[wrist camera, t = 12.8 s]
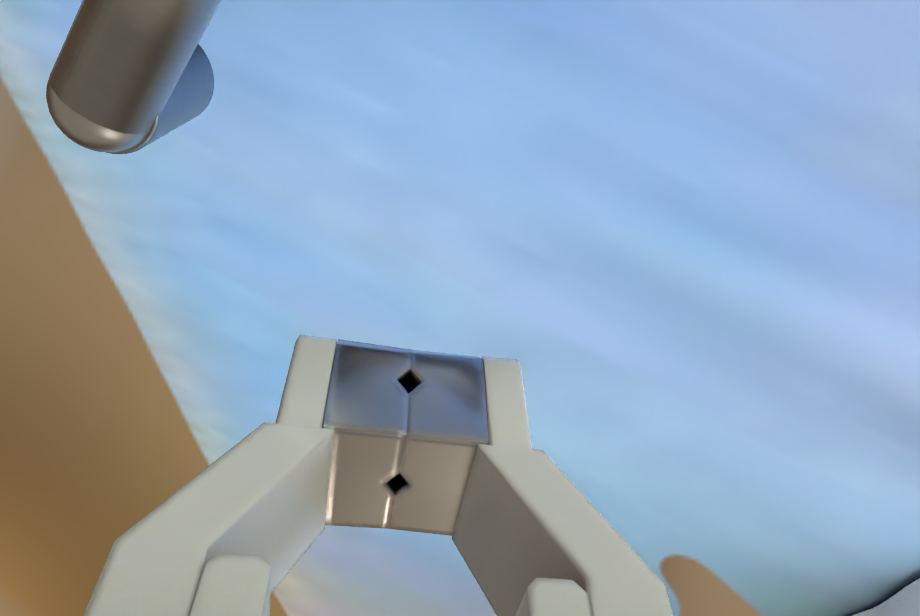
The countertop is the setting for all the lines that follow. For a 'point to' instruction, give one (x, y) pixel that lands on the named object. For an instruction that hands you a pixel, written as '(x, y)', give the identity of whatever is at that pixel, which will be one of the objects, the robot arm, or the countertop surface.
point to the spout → (131, 72)
